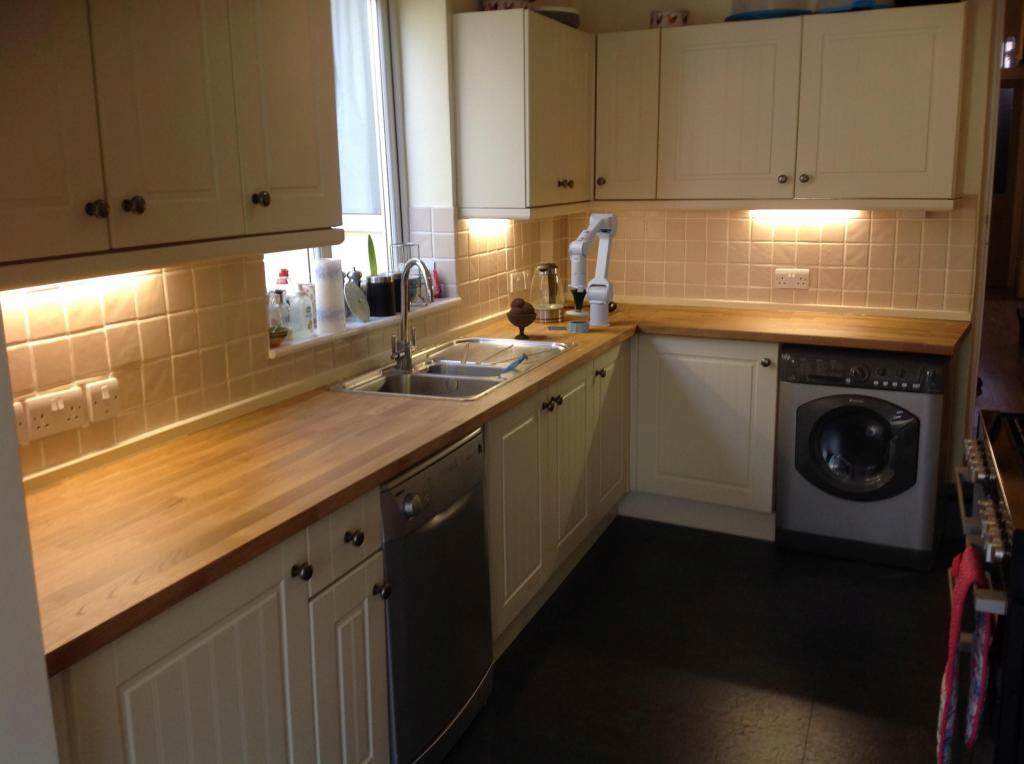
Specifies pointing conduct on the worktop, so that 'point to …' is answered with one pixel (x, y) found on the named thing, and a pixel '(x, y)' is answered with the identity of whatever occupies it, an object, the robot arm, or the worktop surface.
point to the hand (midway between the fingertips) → (578, 308)
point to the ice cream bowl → (521, 316)
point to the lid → (577, 313)
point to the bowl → (578, 326)
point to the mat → (557, 328)
